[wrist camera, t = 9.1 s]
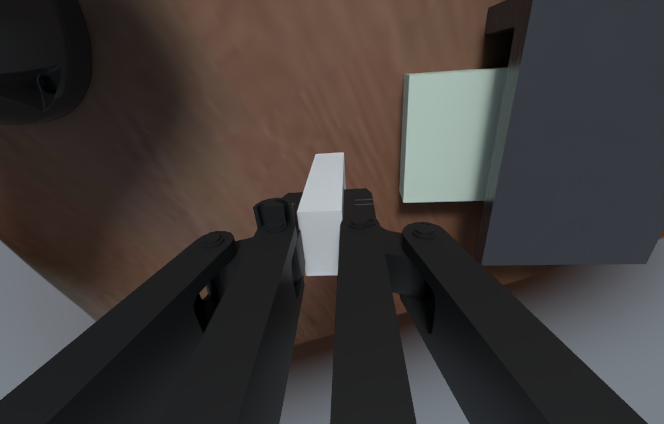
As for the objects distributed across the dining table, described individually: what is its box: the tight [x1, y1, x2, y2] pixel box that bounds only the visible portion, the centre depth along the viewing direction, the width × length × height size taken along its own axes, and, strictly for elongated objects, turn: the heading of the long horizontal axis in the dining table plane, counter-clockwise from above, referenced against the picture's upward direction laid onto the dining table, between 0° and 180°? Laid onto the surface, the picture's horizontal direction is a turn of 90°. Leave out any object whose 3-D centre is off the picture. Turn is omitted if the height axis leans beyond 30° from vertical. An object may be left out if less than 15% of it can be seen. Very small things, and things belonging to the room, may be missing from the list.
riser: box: [474, 0, 664, 266], centre depth 21 cm, size 12×18×6 cm, turn 4°
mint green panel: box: [399, 67, 508, 203], centre depth 24 cm, size 14×10×3 cm
